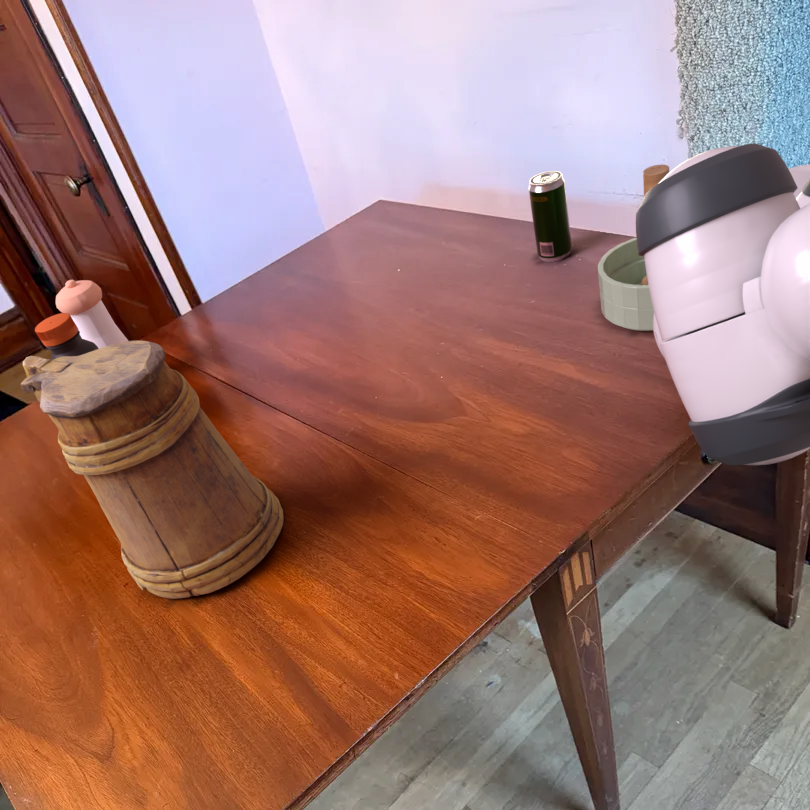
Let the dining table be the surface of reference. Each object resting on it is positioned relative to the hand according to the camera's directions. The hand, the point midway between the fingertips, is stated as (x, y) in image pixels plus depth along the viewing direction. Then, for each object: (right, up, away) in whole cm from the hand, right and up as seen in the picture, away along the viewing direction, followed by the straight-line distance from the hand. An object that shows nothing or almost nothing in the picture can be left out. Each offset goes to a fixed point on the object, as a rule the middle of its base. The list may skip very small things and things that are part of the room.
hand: (728, 221), depth 90 cm
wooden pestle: (-5, -6, +11) cm, 13 cm away
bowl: (-4, -6, +11) cm, 13 cm away
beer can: (-15, +7, +30) cm, 34 cm away
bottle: (-80, -24, +22) cm, 86 cm away
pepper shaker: (-84, -13, +34) cm, 92 cm away
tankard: (-64, -39, 0) cm, 75 cm away
